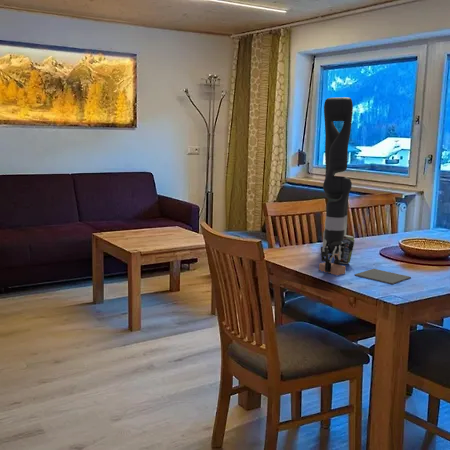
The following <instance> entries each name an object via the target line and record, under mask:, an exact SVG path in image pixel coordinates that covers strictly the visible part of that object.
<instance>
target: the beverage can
mask: <svg viewBox="0 0 450 450" xmlns="http://www.w3.org/2000/svg"><path fill="white" fill-rule="evenodd" d="M341 243H346V247H345V252H344V257H343V258H341V260H340V264H342V265H347V264H349V263H351V260H352V259H351V258H352V253H353V249H354V244H355V238H354V236H353V235H348V234H346V235H344V240H343V241H341ZM341 254H342V252H341Z"/></svg>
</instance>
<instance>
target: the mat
mask: <svg viewBox="0 0 450 450" xmlns="http://www.w3.org/2000/svg"><path fill="white" fill-rule="evenodd" d="M354 276H355V277H359V278H363V279H368V280H371V281H377V282H380V283H385V284H388V285H395V284H399V283H402V282H404V281H407V280H409V279H412V277H411V276H408V275H404V274H399V273H395V272H390V271H386V270H381V269H377V268H372V269H371V268H370V269H368V270H365V271H361V272H358V273H355V274H354Z"/></svg>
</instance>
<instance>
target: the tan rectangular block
mask: <svg viewBox="0 0 450 450" xmlns="http://www.w3.org/2000/svg"><path fill="white" fill-rule="evenodd" d="M319 270H321V271H320V272H323V271H324V273H327V272H326V271H325V262H320V263H319V264H318V271H319ZM330 273H331V275H335V276H339V275H345V274H346V266H345V265H343V264H342V265H341V264H340V265H338V264H334V262H331V272H328V274H330Z"/></svg>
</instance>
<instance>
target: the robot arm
mask: <svg viewBox="0 0 450 450" xmlns="http://www.w3.org/2000/svg"><path fill="white" fill-rule="evenodd" d="M353 104H354V103H353V100H352V98H351V97H345V96H343V97H328V98H326V99H325V101H324V105H323V115H324V116H323V117H324V129H325V133H324V134H325V139H324V140H325V142H324V159H325V160H324V161H325V174H324V175H325V178H324V180H323V184H322V189H323V192H324V195H325V198H327V199H328V200H329V201H328V202H327V203H326V214H325V215H326V216H325V221H324V230H323V234H322V235H323V236H322V246H320V258H321V261H322V262H323V263H325V271H326V272H325V273H327V272H331V263H332V261H333V263H334V264H338V265H341V263H340V260H341V258H343V257H344V252H345V247H346V243H341V241H343V240H344V235H347V226H348V212H349V211H348V208H349V197H350V192H351V189H352V186H353V185H352V180H351V179H350V177H348V176H339V175H336V174H338V173H342V172H345V171H346V170H347V168H348V154H349V153H348V149H349V141H350V135H351V129H352V123H353V121H352V119H353V112H354V110H353V109H354V107H353V106H354V105H353ZM334 122H343V125H342V127H341V129H340V131H338V129H337V128H336V126H335V123H334ZM335 175H336V176H335ZM341 252H342V254H341Z"/></svg>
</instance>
